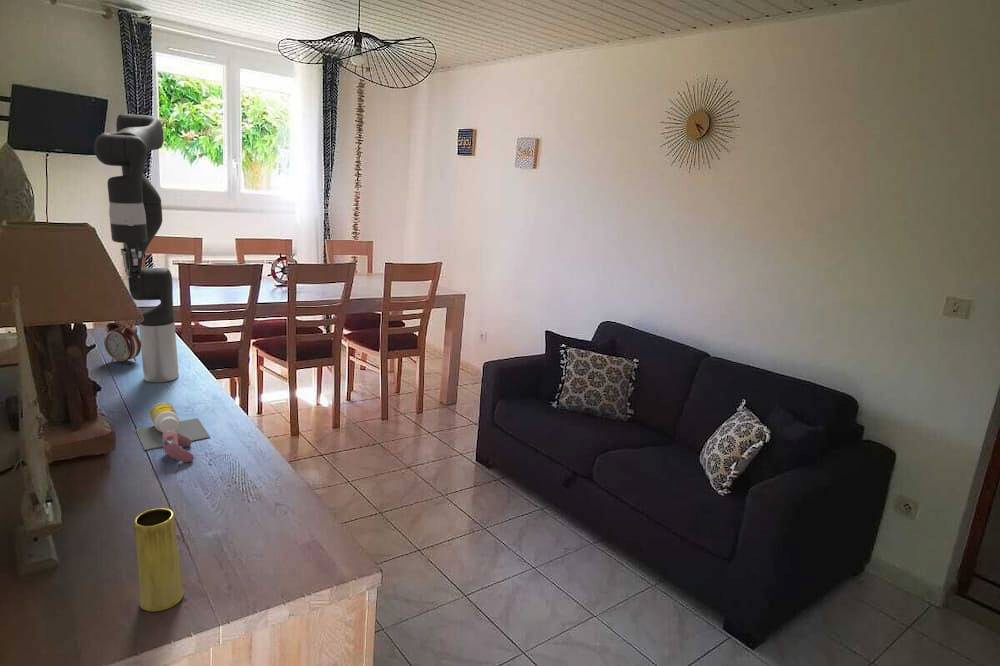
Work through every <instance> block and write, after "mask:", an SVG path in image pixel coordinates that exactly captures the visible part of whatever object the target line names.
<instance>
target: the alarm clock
mask: <svg viewBox="0 0 1000 666" xmlns="http://www.w3.org/2000/svg"><path fill="white" fill-rule="evenodd" d="M105 331H106V333H105V335H104V337H103V344H104V349H105V351H106V352H107V354H108V356H110V357H111V362H114V361H117V362H126V363H127V365H128V364H129V365H130V362H129V360H132V359H133V360H134V361H135V362H136V361H137V359H136V357H137V356H139V354H140V353H141V340H140V335H138V328H137V326H136V325H135V324H133V323H130V322H129V323H126V324H124V325H123V324H121V323H120V322H119V323H109V322H108V323H106V324H105Z"/></svg>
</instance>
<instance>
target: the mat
mask: <svg viewBox="0 0 1000 666" xmlns="http://www.w3.org/2000/svg"><path fill="white" fill-rule="evenodd" d="M176 431H177V432H178V433H179V434H181V435H183V436H186V437H188V438H189V439H190V440H191V441H192V442H195V440H197V441H200V440H199V439H202V440H205V439H204V438H207V439H209V438H208V437H210V438H211V435H210V434H209V433H208V431H207V430H206V428H205V427H204V426H203V423H202V422H201V420H199V418H197V417H196V418H191V419H185V420H179V424H178V428H177V430H176ZM135 432H136V435H137V437H138V439H139V441H140V443H141V446H142V448H143V450H144V451H150V450H155V449H160V448H161V449H162V448H164V447H163V444H164V443H163V441H162V439H163V432H160V431H158V430H157V429H156V427H155V426H154V425H152V426H146V427H140V428H135Z"/></svg>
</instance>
